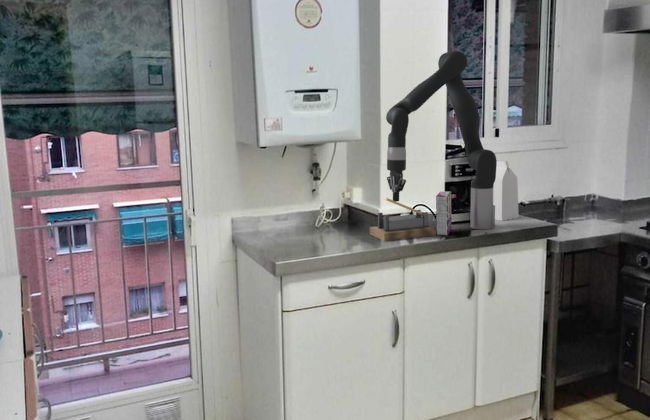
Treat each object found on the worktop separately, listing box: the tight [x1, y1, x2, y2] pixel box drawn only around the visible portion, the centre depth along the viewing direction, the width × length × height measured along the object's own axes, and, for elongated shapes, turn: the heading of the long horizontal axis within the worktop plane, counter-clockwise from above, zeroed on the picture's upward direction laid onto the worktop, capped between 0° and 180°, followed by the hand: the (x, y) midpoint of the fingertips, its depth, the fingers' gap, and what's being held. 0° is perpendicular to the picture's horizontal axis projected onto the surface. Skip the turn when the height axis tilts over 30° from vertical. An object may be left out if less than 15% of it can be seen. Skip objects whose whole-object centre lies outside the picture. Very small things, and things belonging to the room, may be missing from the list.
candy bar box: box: [435, 191, 452, 236], centre depth 249 cm, size 11×5×16 cm, turn 161°
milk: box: [493, 160, 520, 221], centre depth 276 cm, size 12×12×26 cm
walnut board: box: [369, 224, 437, 242], centre depth 248 cm, size 23×14×3 cm, turn 110°
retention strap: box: [381, 196, 424, 217], centre depth 247 cm, size 19×4×2 cm, turn 110°
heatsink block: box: [377, 209, 429, 231], centre depth 248 cm, size 19×8×6 cm, turn 110°
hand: (395, 201), depth 245 cm, fingers closed
